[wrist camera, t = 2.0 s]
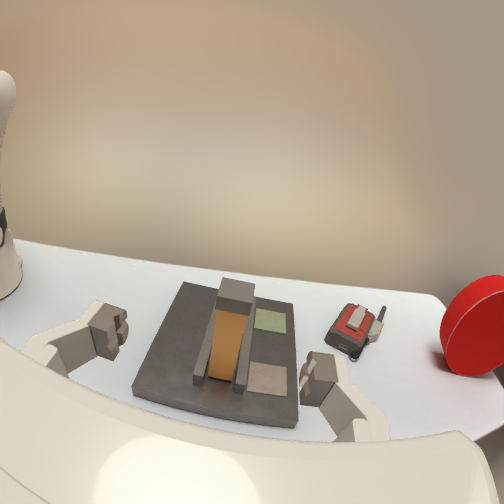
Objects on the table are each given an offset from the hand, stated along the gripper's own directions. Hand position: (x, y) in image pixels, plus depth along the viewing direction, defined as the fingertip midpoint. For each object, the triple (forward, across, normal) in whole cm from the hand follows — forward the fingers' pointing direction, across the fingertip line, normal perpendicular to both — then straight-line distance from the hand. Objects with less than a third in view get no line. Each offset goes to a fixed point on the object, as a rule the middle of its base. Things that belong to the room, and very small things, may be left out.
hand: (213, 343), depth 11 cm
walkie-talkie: (+32, +24, -23) cm, 46 cm away
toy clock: (+22, +47, -22) cm, 57 cm away
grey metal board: (+21, 0, -22) cm, 30 cm away
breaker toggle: (+15, 0, -20) cm, 25 cm away
